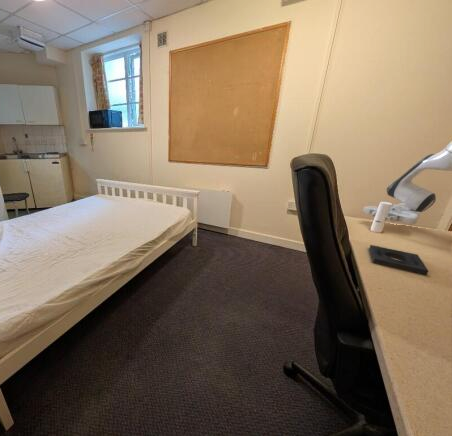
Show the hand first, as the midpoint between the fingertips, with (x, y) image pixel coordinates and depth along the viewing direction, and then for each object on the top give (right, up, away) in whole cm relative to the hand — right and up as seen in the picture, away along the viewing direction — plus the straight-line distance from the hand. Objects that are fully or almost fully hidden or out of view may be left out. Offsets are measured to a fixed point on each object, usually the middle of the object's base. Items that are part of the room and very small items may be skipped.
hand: (380, 216), depth 110 cm
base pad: (-19, -18, -24) cm, 35 cm away
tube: (+1, -8, +3) cm, 8 cm away
